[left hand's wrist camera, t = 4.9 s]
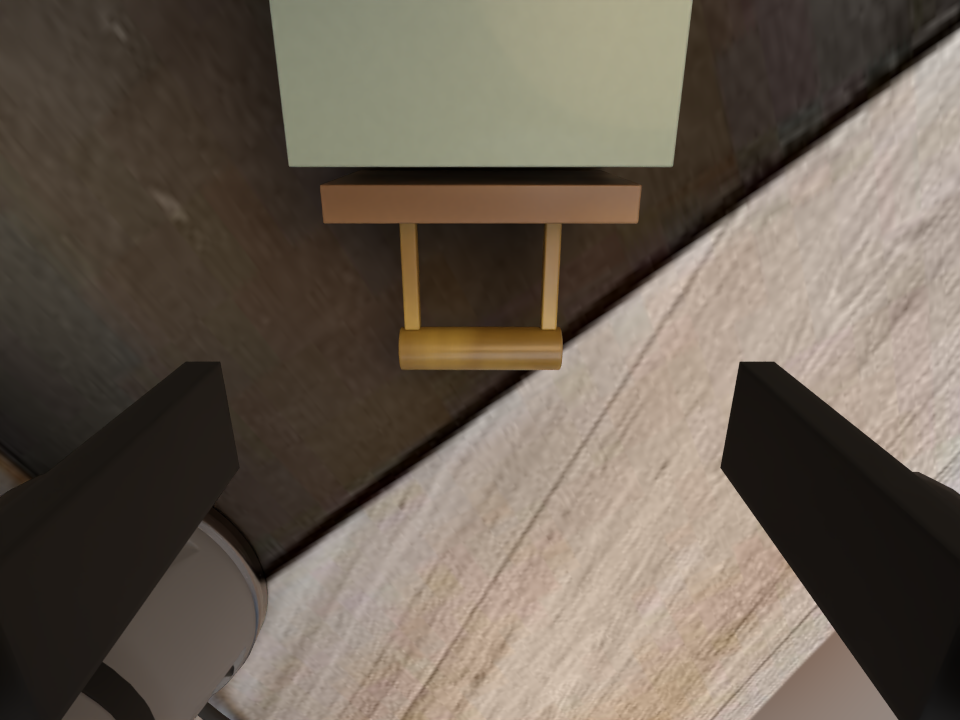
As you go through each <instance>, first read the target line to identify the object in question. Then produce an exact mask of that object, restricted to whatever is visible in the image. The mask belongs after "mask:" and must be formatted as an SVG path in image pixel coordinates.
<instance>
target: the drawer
mask: <svg viewBox="0 0 960 720" xmlns="http://www.w3.org/2000/svg"><path fill="white" fill-rule="evenodd" d="M641 188H642V186H641V185H640V184H637V183H634V182H631V181H629V180H626V179H623V178H621V177H618V176H615V175H612V174H610V173H607V172H604V171H601V170H359V171H357V172H354V173H351V174H349V175H346V176H343V177H341V178H338V179H335V180H332V181H330V182H327V183H324V184H322V185H320V193H321V203H322V213H323V222H324V223H399V229H400V248H401V267H402V287H403V306H404V325H405V327H401V329H400V333H399V363H400V367H401V369H402V370H559V369H560V368H561V363H562V333H561V329H560V327H557V308H558V289H559V270H560V251H561V232H562V223H638V218H639V208H640V198H641ZM417 223H544V237H543V261H542V285H541V309H540V326H541V327H421V307H420V282H419V257H418V232H417Z"/></svg>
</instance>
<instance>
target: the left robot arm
mask: <svg viewBox="0 0 960 720" xmlns="http://www.w3.org/2000/svg"><path fill="white" fill-rule="evenodd" d="M720 468H721V469H722V471H723V472H724V473H725V475H726V476H727V478H728V479H729V481H730V482H731V483H732V485H733V486H734V488H735V489H736V490H737V492H738V493H739V495H740V496H741V498H742V499H743V500H744V502H745V503H746V505H747V506H748V507H749V509H750V510H751V512H752V513H753V514H754V516H755V517H756V519H757V520H758V522H759V523H760V524H761V526H762V527H763V529H764V530H765V531H766V533H767V534H768V536H769V537H770V539H771V540H772V541H773V543H774V544H775V546H776V547H777V548H778V550H779V551H780V553H781V554H782V556H783V557H784V558H785V560H786V561H787V563H788V564H789V565H790V567H791V568H792V570H793V571H794V573H795V574H796V575H797V577H798V578H799V580H800V581H801V582H802V584H803V585H804V587H805V588H806V590H807V591H808V592H809V594H810V595H811V597H812V598H813V599H814V601H815V602H816V604H817V605H818V607H819V608H820V609H821V611H822V612H823V614H824V615H825V616H826V618H827V619H828V621H829V622H830V624H831V625H832V626H833V628H834V629H835V631H836V632H837V633H838V635H839V636H840V638H841V639H842V641H843V642H844V643H845V645H846V646H847V648H848V649H849V650H850V652H851V653H852V655H853V656H854V657H855V659H856V660H857V662H858V663H859V665H860V666H861V667H862V669H863V670H864V672H865V673H866V674H867V676H868V677H869V679H870V680H871V682H872V683H873V684H874V686H875V687H876V689H877V690H878V691H879V693H880V694H881V696H882V697H883V699H884V700H885V701H886V703H887V704H888V706H889V707H890V708H891V710H892V711H893V713H894V714H895V716H896V717H897V718H898V720H960V494H959V493H957V492H956V491H955V490H953V489H951V488H949V487H947V486H945V485H943V484H942V483H940V482H938V481H936V480H934V479H932V478H930V477H928V476H926V475H924V474H922V473H920V472H912V471H910V470H909V469H908V468H907V467H905V466H904V465H903V464H902V463H900V462H899V461H898V460H897V459H895V458H894V457H893V456H892V455H890V454H889V453H888V452H887V451H885V450H884V449H883V448H882V447H880V446H879V445H878V444H877V443H875V442H874V441H873V440H872V439H870V438H869V437H868V436H867V435H865V434H864V433H863V432H862V431H860V430H859V429H858V428H857V427H855V426H854V425H853V424H852V423H850V422H849V421H848V420H847V419H845V418H844V417H843V416H842V415H840V414H839V413H838V412H836V411H835V410H834V409H833V408H831V407H830V406H829V405H828V404H826V403H825V402H824V401H823V400H821V399H820V398H819V397H818V396H816V395H815V394H814V393H813V392H811V391H810V390H809V389H808V388H806V387H805V386H804V385H803V384H801V383H800V382H799V381H798V380H796V379H795V378H794V377H793V376H791V375H790V374H789V373H788V372H786V371H785V370H784V369H783V368H781V367H780V366H779V365H778V364H776V363H775V362H740V363H739V369H738V374H737V380H736V385H735V391H734V396H733V402H732V407H731V413H730V418H729V424H728V429H727V434H726V440H725V445H724V451H723V456H722V462H721V467H720ZM238 469H239V462H238V457H237V451H236V446H235V440H234V435H233V429H232V424H231V418H230V413H229V407H228V402H227V396H226V391H225V385H224V380H223V374H222V369H221V363H220V362H185V363H184V364H182V365H181V366H180V367H179V368H177V369H176V370H175V371H174V372H172V373H171V374H170V375H169V376H167V377H166V378H165V379H164V380H162V381H161V382H160V383H159V384H157V385H156V386H155V387H154V388H152V389H151V390H150V391H149V392H147V393H146V394H145V395H144V396H142V397H141V398H140V399H139V400H137V401H136V402H135V403H134V404H132V405H131V406H130V407H129V408H127V409H126V410H125V411H123V412H122V413H121V414H120V415H118V416H117V417H116V418H115V419H113V420H112V421H111V422H110V423H108V424H107V425H106V426H105V427H103V428H102V429H101V430H100V431H98V432H97V433H96V434H95V435H93V436H92V437H91V438H90V439H88V440H87V441H86V442H85V443H83V444H82V445H81V446H80V447H78V448H77V449H76V450H75V451H73V452H72V453H71V454H70V455H68V456H67V457H66V458H65V459H63V460H62V461H61V462H60V463H58V464H57V465H56V466H55V467H53V468H52V469H51V470H49V471H48V472H47V473H46V474H41V475H39V476H37V477H35V478H33V479H31V480H29V481H27V482H25V483H23V484H21V485H19V486H17V487H15V488H13V489H11V490H9V491H8V492H6V493H5V494H4V495H2V496H1V497H0V720H194V718H195V717H196V716H197V715H198V716H199V717H200V718H202V719H203V720H230V719H229V718H227V717H226V716H224V715H223V714H222V713H220V712H219V711H218V710H217V709H215V708H214V707H213V706H212V705H211V704H209V703H208V700H209V699H210V697H211V696H212V695H214V694H215V693H216V692H218V691H219V690H220V689H221V688H223V687H224V686H225V685H226V684H227V683H228V682H229V681H230V679H231V678H232V677H233V676H234V675H235V674H236V673H237V671H238V670H239V669H240V668H241V666H242V665H243V664H244V663H245V661H246V659H247V658H248V656H249V654H250V652H251V650H252V648H253V645H254V643H255V641H256V638H257V636H258V634H259V632H260V629H261V627H262V625H263V622H264V619H265V615H266V609H267V587H266V581H265V577H264V573H263V571H262V568H261V565H260V563H259V561H258V559H257V557H256V555H255V553H254V551H253V550H252V548H251V547H250V545H249V543H248V542H247V541H246V539H245V538H244V537H243V536H242V534H241V533H240V532H239V531H238V530H237V529H236V528H235V527H234V525H233V524H232V523H231V522H230V521H228V520H227V519H226V518H225V517H224V516H223V515H222V514H221V513H219V512H218V511H217V510H215V509H214V508H213V507H212V506H213V505H214V503H215V502H216V500H217V499H218V497H219V496H220V495H221V493H222V492H223V490H224V489H225V488H226V486H227V485H228V483H229V482H230V480H231V479H232V478H233V476H234V475H235V473H236V472H237V471H238Z"/></svg>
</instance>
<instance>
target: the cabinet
mask: <svg viewBox="0 0 960 720" xmlns="http://www.w3.org/2000/svg"><path fill="white" fill-rule="evenodd" d="M692 2H693V0H269V3H270V11H271V20H272V28H273V37H274V45H275V54H276V62H277V70H278V79H279V87H280V96H281V104H282V113H283V121H284V130H285V138H286V147H287V155H288V163H289V166H290V167H672V166H673V161H674V152H675V144H676V135H677V127H678V119H679V110H680V102H681V94H682V85H683V77H684V69H685V60H686V52H687V44H688V35H689V27H690V19H691V10H692Z"/></svg>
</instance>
